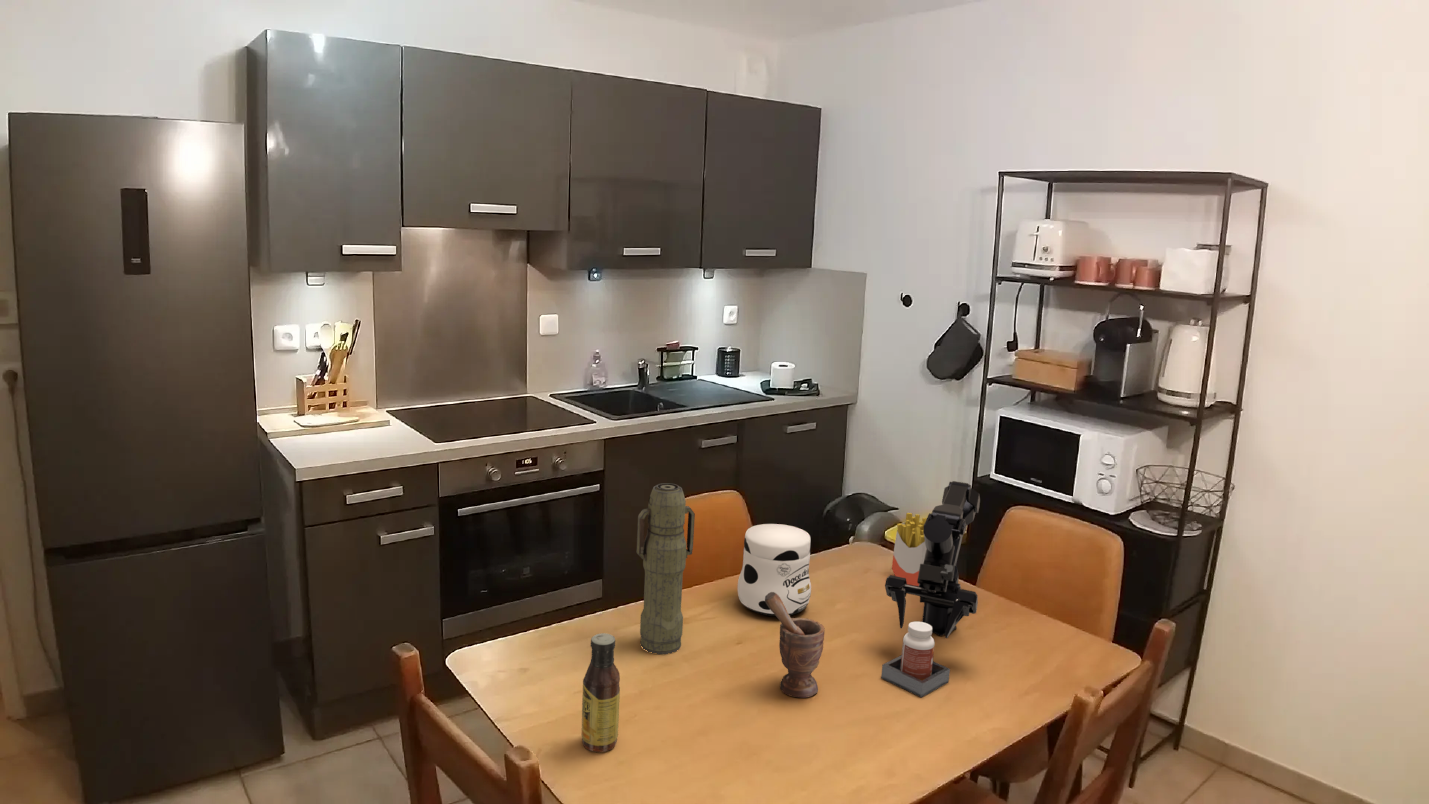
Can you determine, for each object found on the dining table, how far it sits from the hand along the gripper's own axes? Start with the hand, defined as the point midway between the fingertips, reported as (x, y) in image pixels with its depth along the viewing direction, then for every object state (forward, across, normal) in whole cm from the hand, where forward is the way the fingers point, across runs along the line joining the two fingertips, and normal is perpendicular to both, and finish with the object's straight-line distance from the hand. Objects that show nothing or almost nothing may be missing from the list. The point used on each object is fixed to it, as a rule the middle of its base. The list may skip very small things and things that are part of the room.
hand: (923, 632), depth 185 cm
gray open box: (+10, 0, +2) cm, 10 cm away
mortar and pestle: (+21, -21, -9) cm, 31 cm away
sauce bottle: (+44, -45, -33) cm, 71 cm away
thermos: (+17, -52, -6) cm, 55 cm away
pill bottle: (+9, 0, +2) cm, 9 cm away
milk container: (-4, -37, +16) cm, 41 cm away
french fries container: (-26, -10, +39) cm, 47 cm away
